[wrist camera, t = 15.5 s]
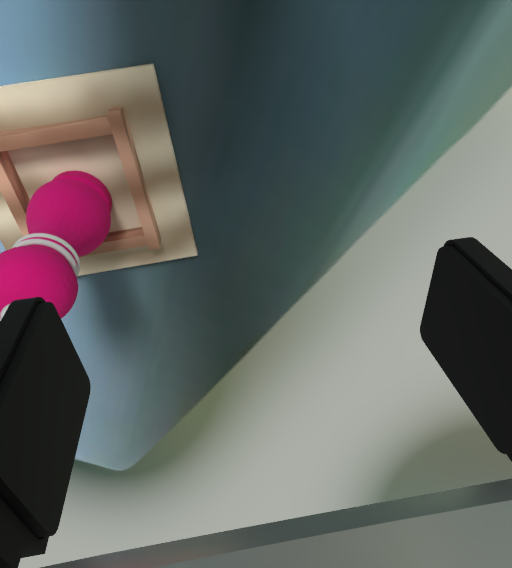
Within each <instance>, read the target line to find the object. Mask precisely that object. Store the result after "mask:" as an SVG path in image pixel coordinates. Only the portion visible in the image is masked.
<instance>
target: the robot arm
mask: <svg viewBox="0 0 512 568" xmlns="http://www.w3.org/2000/svg"><path fill="white" fill-rule="evenodd" d="M420 333H421V337H422V339H423V341H424V343H425V344H426V346H427V347H428V349H429V350H430V352H431V353H432V355H433V356H434V357H435V359H436V360H437V362H438V363H439V365H440V366H441V368H442V369H443V371H444V372H445V374H446V375H447V377H448V378H449V380H450V381H451V383H452V384H453V386H454V387H455V388H456V390H457V391H458V393H459V394H460V396H461V397H462V399H463V400H464V402H465V403H466V405H467V406H468V407H469V409H470V410H471V412H472V413H473V415H474V416H475V418H476V419H477V421H478V422H479V424H480V425H481V426H482V428H483V429H484V431H485V432H486V434H487V435H488V437H489V438H490V440H491V441H492V443H493V444H494V446H495V447H496V448H497V449H498V451H500V452H501V453H503V454H507V456H508V457H509V459H510V460H511V461H512V270H511V269H510V268H509V267H508V266H507V265H506V264H505V263H503V262H502V261H501V260H500V259H499V258H498V257H496V256H495V255H494V254H493V253H492V252H490V251H489V250H488V249H487V248H486V247H485V246H483V245H482V244H481V243H480V242H479V241H478V240H476V239H475V238H473V237H469V238H461V239H454V240H448V241H447V242H446V243H445V244H444V246H443V247H441V248H440V249H439V250H438V252H437V256H436V261H435V265H434V269H433V274H432V278H431V282H430V287H429V291H428V296H427V300H426V305H425V308H424V313H423V317H422V321H421V326H420ZM89 395H90V381H89V378H88V375H87V373H86V371H85V369H84V367H83V365H82V363H81V361H80V359H79V356H78V354H77V352H76V350H75V348H74V346H73V344H72V342H71V339H70V337H69V335H68V333H67V331H66V329H65V327H64V325H63V323H62V320H61V318H60V316H59V314H58V312H57V310H56V308H55V306H54V304H53V303H52V302H46V301H45V300H44V299H43V298H42V297H34V298H27V299H19V300H14V301H12V302H11V303H10V305H9V307H8V309H7V310H6V312H5V314H4V316H3V318H2V319H1V321H0V568H18V565H19V562H20V558H24V557H29V556H35V555H40V554H45V550H46V546H47V542H48V538H49V536H53V535H54V534H55V533H56V531H57V529H58V526H59V522H60V518H61V514H62V510H63V505H64V501H65V497H66V492H67V488H68V484H69V480H70V476H71V472H72V467H73V463H74V459H75V455H76V450H77V446H78V442H79V438H80V433H81V429H82V425H83V421H84V416H85V412H86V408H87V404H88V399H89ZM41 568H512V479H508V480H502V481H497V482H491V483H486V484H480V485H474V486H469V487H463V488H458V489H452V490H447V491H441V492H436V493H430V494H424V495H419V496H413V497H408V498H402V499H397V500H391V501H386V502H381V503H375V504H369V505H364V506H359V507H353V508H348V509H342V510H338V511H332V512H326V513H321V514H315V515H310V516H305V517H300V518H294V519H288V520H283V521H278V522H273V523H267V524H261V525H256V526H251V527H246V528H240V529H235V530H230V531H224V532H219V533H214V534H209V535H204V536H198V537H193V538H188V539H182V540H177V541H172V542H167V543H161V544H156V545H151V546H146V547H140V548H135V549H130V550H125V551H120V552H114V553H109V554H104V555H99V556H94V557H89V558H85V559H80V560H75V561H70V562H66V563H60V564H56V565H51V566H46V567H41Z"/></svg>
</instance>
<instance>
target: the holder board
mask: <svg viewBox="0 0 512 568" xmlns="http://www.w3.org/2000/svg"><path fill="white" fill-rule="evenodd" d="M74 170H76V171H83V172H86V173H89V174H91V175H93V176H95V177H96V178H98V179H99V180H100V181H101V182H102V183H103V184H104V185H105V186H106V187H107V189H108V191H109V193H110V195H111V199H112V209H111V213H110V214H111V226H110V230H109V233H108V235H107V237H106V238H105V240H104V241H103V243H102V244H101V245H100V246H99V247H97V248H96V249H95V250H94V251H92V252H90V253H89V254H87V255H84V256H82V257H79V260H80V271H79V274H78V276H81V275H87V274H92V273H98V272H104V271H110V270H116V269H122V268H127V267H133V266H139V265H145V264H151V263H157V262H162V261H168V260H174V259H180V258H186V257H191V256H197V248H196V243H195V239H194V235H193V230H192V226H191V222H190V218H189V213H188V209H187V205H186V200H185V196H184V192H183V187H182V183H181V179H180V175H179V170H178V166H177V162H176V157H175V153H174V149H173V144H172V140H171V136H170V132H169V127H168V123H167V119H166V114H165V110H164V106H163V101H162V97H161V93H160V89H159V84H158V80H157V76H156V71H155V67H154V63H152V64H145V65H138V66H132V67H125V68H118V69H111V70H105V71H98V72H91V73H84V74H78V75H71V76H64V77H57V78H51V79H44V80H37V81H31V82H24V83H17V84H10V85H4V86H0V240H1V242H2V243H3V245H4V247H5V249H6V250H9V249H11V248H12V247H13V245H14V244H15V243H16V241H17V240H19V239H20V238H21V237H23V236H26V235H28V234H29V233H28V229H27V224H26V212H27V206H28V204H29V201H30V199H31V197H32V196H33V194H34V193H35V192H36V190H37V189H38V188H40V187H41V186H42V185H44V184H46V183H48V182H50V181H52V180H53V179H54V178H55V177H56V176H57V175H58V174H61V173H63V172H66V171H74Z"/></svg>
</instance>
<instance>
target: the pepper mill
mask: <svg viewBox="0 0 512 568" xmlns="http://www.w3.org/2000/svg"><path fill="white" fill-rule="evenodd" d="M111 209H112V199H111V195H110V193H109V191H108V189H107V187H106V186H105V185H104V184H103V183H102V182H101V181H100V180H99V179H98V178H96V177H95V176H93V175H91V174H89V173H86V172H83V171H76V170H74V171H66V172H63V173H61V174H58V175H57V176H56V177H55V178H54V179H53V180H52V181H50V182H48V183H46V184H44V185H42V186H41V187H40V188H38V189H37V190H36V192H35V193H34V194H33V196H32V197H31V199H30V201H29V204H28V206H27V212H26V224H27V229H28V233H29V234H28V235H26V236H23V237H21V238H20V239H19V240H17V241H16V243H15V244H14V245H13V247H12V248H11V249H9V250H6V251H4V252H2V253H1V254H0V319H2V318H3V316H4V314H5V312H6V310H7V309H8V307H9V305H10V303H11V302H12V301H14V300H19V299H27V298H34V297H42V298H43V299H44V300H45V301H46V302H52V303H53V304H54V306H55V308H56V310H57V312H58V314H59V316H60V318H62V317H64V316H65V315H66V314H67V313H68V312H69V310H70V309H71V308H72V306H73V304H74V302H75V300H76V297H77V293H78V282H77V276H78V274H79V271H80V260H79V257H82V256H84V255H87V254H89V253H90V252H92V251H94V250H95V249H96V248H97V247H99V246H100V245H101V244H102V243H103V241H104V240H105V238H106V237H107V235H108V233H109V230H110V226H111V214H110V213H111Z"/></svg>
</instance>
